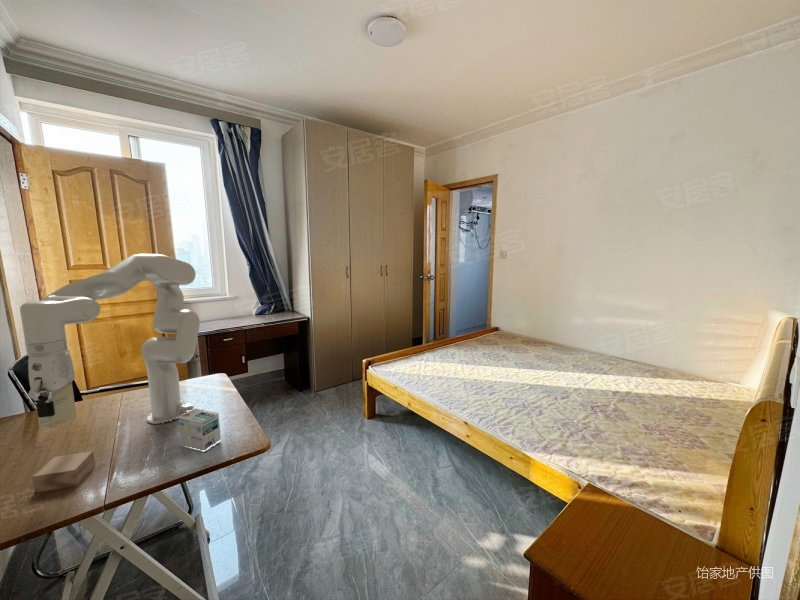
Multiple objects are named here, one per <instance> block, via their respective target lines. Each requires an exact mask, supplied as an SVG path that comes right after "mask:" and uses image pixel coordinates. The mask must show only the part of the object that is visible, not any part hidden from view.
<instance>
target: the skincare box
mask: <svg viewBox="0 0 800 600" xmlns="http://www.w3.org/2000/svg"><path fill="white" fill-rule="evenodd" d="M43 390H47V389H46V388H42V389H41V391H43ZM46 394H47V393H43V394H41V395H43V396H45V397H46ZM51 401H53V403H54V410H55V415H54V416H50V417H41V418H39V417H38V416H37V420H38V427H39V428H45V429H52V428H56V427H58V426H60V425H62V424H66V423H67V422H70V421H72V420H75V419H77V418H78V416H77V410H76V404H75V403H76V402H75V394H74V389H73V381H72V379H71V377H69V378H68V384H67V385H65V386H64V387H62V388H60V389H59V390H57V391H53V392H52V397H51ZM36 409H37V406H36ZM36 413H37V412H36ZM37 415H38V413H37Z"/></svg>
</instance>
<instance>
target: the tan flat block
mask: <svg viewBox="0 0 800 600" xmlns="http://www.w3.org/2000/svg"><path fill="white" fill-rule="evenodd" d="M94 455H95V454H94V451H86V452H79V453H72V454H64V455H60V456H59V455H58V456H54V457H53V458H51V459H50V460H49V461H48V462H47V463H46V464H45V465H44V466H43V467H41V468H40V469H39V470H38V471H36V472H35V474H34V475H33V476H32V484H33V489H34V493H35V492H38V493H43V492H49V491H53V490H54V491H55V490H60V489H65V488H72V487H77V486H79V484H80V483H82V482H83V480H84V479H85V478H86V477H87V475H88V474H89V473H90V472H91V471H92V470H93V469H94V468H95V467H96V463H95V457H94Z"/></svg>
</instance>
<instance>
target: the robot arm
mask: <svg viewBox="0 0 800 600" xmlns="http://www.w3.org/2000/svg"><path fill="white" fill-rule="evenodd" d="M196 275H197V274H196V270H195V268H194V266H192V264H190V263H189V262H186V261H182V260H180V259H177V258H174V257H172V256H167V255H164V254H160V253H137V254H136V253H135V254H132V255H130V256H128V257H126V258H125V259H123V260H121V261H120V262H118V263H116V264H114V265H113V266H111V267H109V268H108V269H106V270H105V271H102V272H100V273H97V274H94V275H91V276H88V277H86V278H83V279H80V280H76V281H73V282H72V283H69V284H66V285H63V286H62V287H60V288H57V290H55V291H52V292H51V293H50V294H48V295H46V296H45V297H43V298H42V299H41V300H34V301H28V302H24V303H23V304H22V303H21V305H20V306H19V312H20V318H21V325H22V330H23V336H24V337H23V338H24V343H25V349H26V354H27V357H28V361H27V362H28V368H27V369H28V381H29V386H30V390H29V391H28V394H27V396H28V397H29V398H30V399H31V400H32V402H34V405H36V406H37V408H36V413H38V414H37V418H38V417H39V418H41V417H50V416H54V415H55V410H54V403H53V401H51V397H52V392H53V391H57V390H59V389H60V388H62V387H64V386H65V385H67V384H68V378H69V377H71V379H72V382H74V380H75V379H76V374H75V373H76V372H75V369H74V364H73V360H72V356H71V353H70V350H69V348H68V342H67V341H68V340H67V335H66V327H65V326H66V325H73V324H74V325H75V324H83V323H84V324H85V323H90V322H92V321H93V320H95V319H96V318H97V317H98V316H99V315H100V312H101V306H100V304H99V303H98V300H103V299H110V298H114V297H118V296H122V295H124V294H126V293H127V292H129V291H130V290H132V289H133V288H134V287H136V286H138V284H140V283H141V282H143V281H144V280H146V279H147V280H149V282H150V283H152V285H153V287H154V288H155V290H156V293H157V300H156V306H155V310H154V315H153V320H152V328H153V331H155V332H157V333H161V334H166V335H167V334H172V335H176V336H175V337H173V336H154V337H151V338H148V339H147V340H146V341H145V342H144V343H143V344H142V347H141V356H142V359H143V361H144V364H145V368H146V373H147V374H146V375H147V382H148V391H149V402H150V411H151V413H149V414H148V415H147V417H146V421H147V423H149V424H153V425H157V424H158V425H159V424H160V423H161V424H166V423H165V422H167V423H169V422H168V421H170V420H173V419H176V418H177V417H179V416H181V415H182V414H184V413H185V411H186V412H187V411H192V410H194V409H195V408H194V407H195V406H194V404H192V402H190V403H184V400H183V399H182V398H181V390H180V377H179V370H178V367H177V364H185V363H188V362H190V360H192V358H193V357H194V355H195V351H196V346H197V342H198V336H199V331H200V317H199V315H198V313H197V312H196V311H194V310H191V309H184V308H183V307H184V301H185V300H184V299H185V297H184V293H183V291H182V290H181V288H180V287H179V286H186V285H189V284H192V283H193V282H194V281H195V279H196V277H197V276H196ZM42 388H46V389H47V390H43V391H41V389H42ZM43 393H47V394H46V397H45V396H43V395H41V394H43ZM181 399H182V400H181ZM176 420H177V419H176Z"/></svg>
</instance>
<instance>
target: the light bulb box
mask: <svg viewBox="0 0 800 600" xmlns="http://www.w3.org/2000/svg"><path fill="white" fill-rule="evenodd" d="M177 420H178V426H179V438H180V446H181V445H182V446H187V447H192V448H196V449H200V450H206V449H207V448H208V447H210V446H211V445H213V444H215V443H216V442H217V441H219V440H220V439H222V438H221V428H220V426H221V425H220V415H219V412H215V411H214V412H213V411H208V410H203V409H198V408H193V410H188V411H186V413H185V414H183V415H181V416H179V417H178V419H177Z"/></svg>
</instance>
